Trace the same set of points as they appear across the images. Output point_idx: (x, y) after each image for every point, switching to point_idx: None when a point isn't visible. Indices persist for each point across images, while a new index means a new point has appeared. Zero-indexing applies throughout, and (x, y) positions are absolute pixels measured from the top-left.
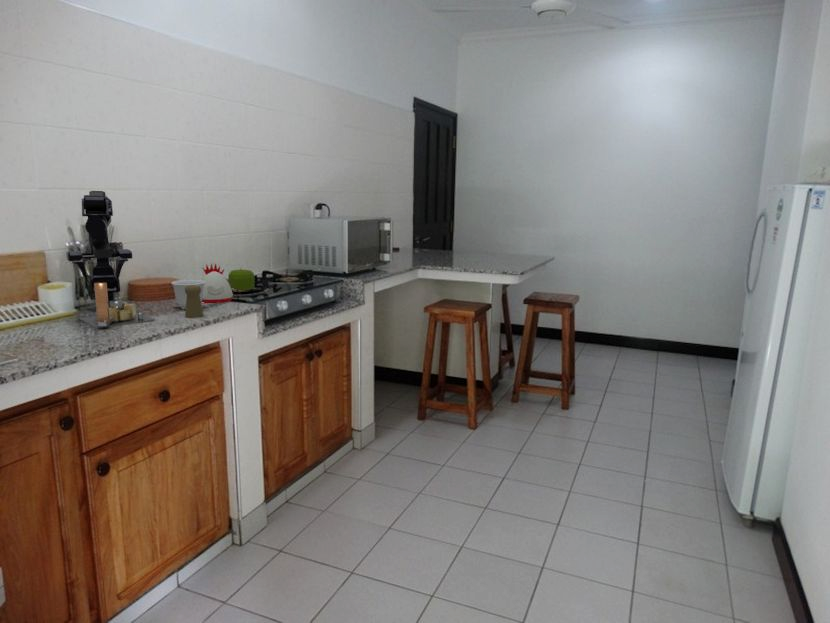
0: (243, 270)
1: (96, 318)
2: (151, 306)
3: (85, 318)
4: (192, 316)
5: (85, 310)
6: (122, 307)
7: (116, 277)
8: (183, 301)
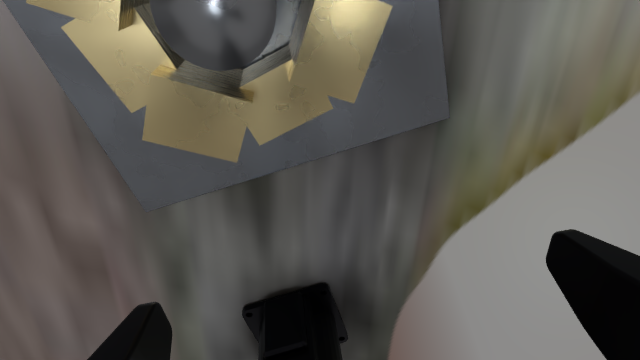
0: None
1: None
2: (86, 330)
3: (419, 92)
4: None
5: (384, 309)
6: (180, 69)
7: (159, 350)
8: None
